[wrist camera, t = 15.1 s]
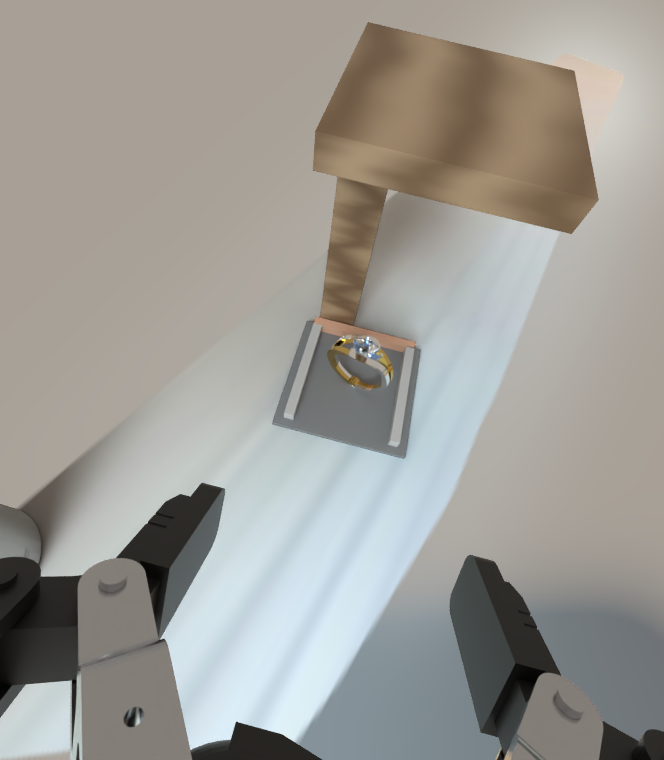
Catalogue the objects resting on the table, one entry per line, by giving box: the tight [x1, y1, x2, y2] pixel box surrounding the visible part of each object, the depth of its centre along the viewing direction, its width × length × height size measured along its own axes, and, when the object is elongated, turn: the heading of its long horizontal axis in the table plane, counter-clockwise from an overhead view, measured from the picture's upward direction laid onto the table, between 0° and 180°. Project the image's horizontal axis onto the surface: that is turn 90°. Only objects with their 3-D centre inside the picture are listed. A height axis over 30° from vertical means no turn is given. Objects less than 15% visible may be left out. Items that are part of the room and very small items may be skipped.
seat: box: [272, 317, 421, 459], centre depth 42 cm, size 14×14×2 cm
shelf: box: [313, 22, 598, 326], centre depth 34 cm, size 14×14×27 cm
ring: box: [327, 335, 393, 394], centre depth 39 cm, size 7×3×8 cm, turn 54°
